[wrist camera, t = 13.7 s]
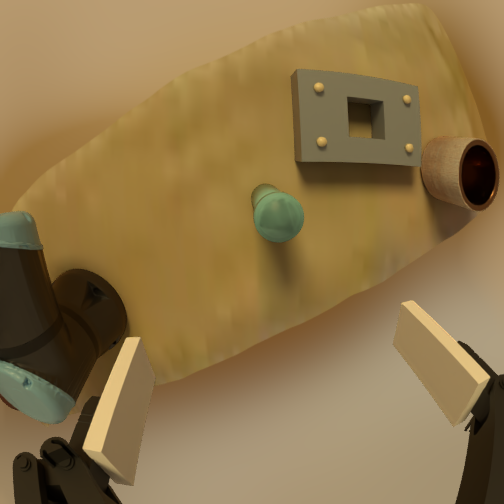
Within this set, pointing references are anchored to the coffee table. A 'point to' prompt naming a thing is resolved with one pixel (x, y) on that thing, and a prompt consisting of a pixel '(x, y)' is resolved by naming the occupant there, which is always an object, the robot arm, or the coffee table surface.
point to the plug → (276, 213)
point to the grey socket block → (336, 119)
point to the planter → (461, 172)
